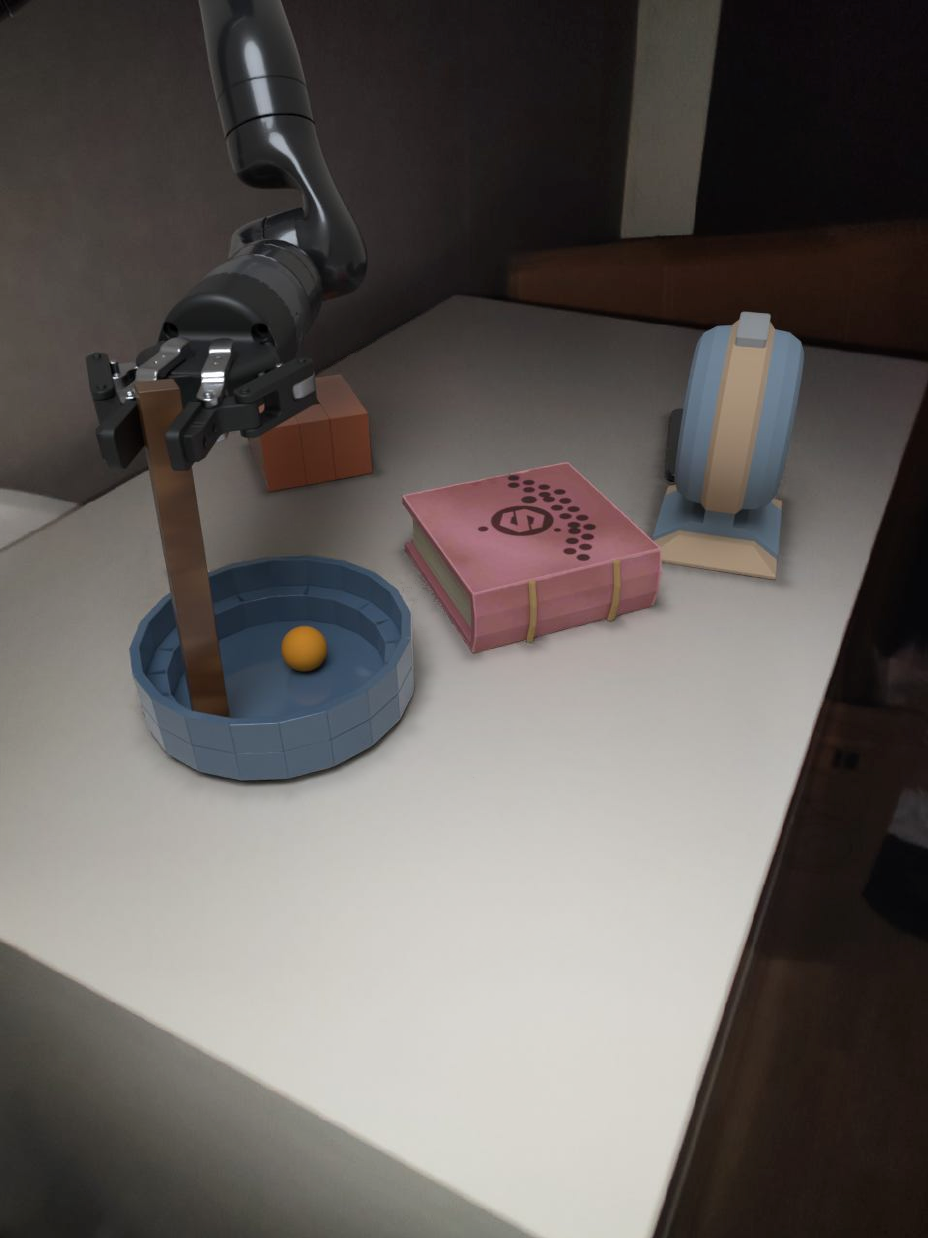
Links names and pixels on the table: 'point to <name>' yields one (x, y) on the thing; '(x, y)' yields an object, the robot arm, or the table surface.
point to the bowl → (282, 669)
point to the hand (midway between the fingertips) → (144, 452)
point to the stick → (182, 550)
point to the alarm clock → (733, 450)
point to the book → (529, 555)
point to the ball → (304, 648)
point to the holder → (317, 440)
